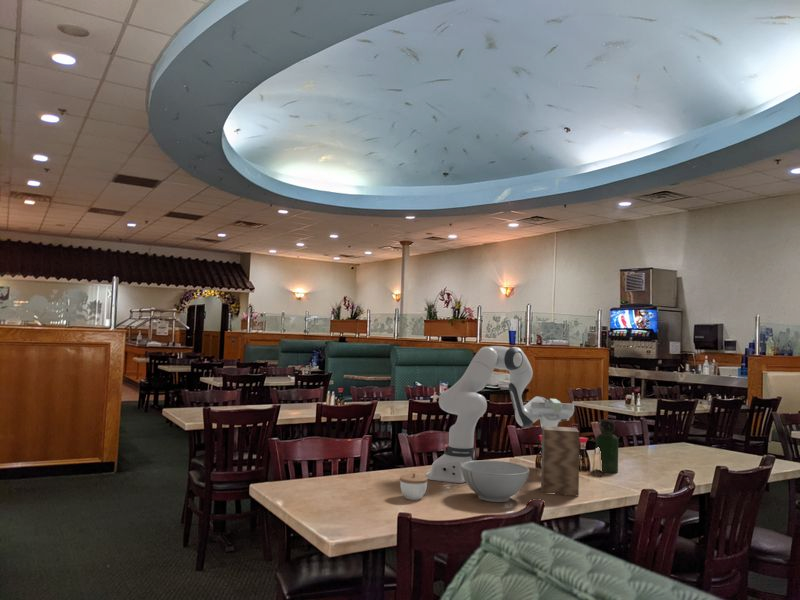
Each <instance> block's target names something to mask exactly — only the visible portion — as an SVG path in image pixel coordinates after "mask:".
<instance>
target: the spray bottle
mask: <svg viewBox="0 0 800 600" xmlns="http://www.w3.org/2000/svg"><path fill="white" fill-rule="evenodd" d="M615 426H616V425H615V421H614V419H608V418H607V419H606V418H602V419H601V420H600V423H599V429H600V432H601V433H599V434H598V435H596V438H595V449H596V448H597V447H599V448H600V451H601V460H602V471H603V472H602V473H605V472H607V473H608V474H609V473H610V474H613V473H614V474H615V473H618V472H619V438H618V436H616V435H615V434H613V433H615V429H616V428H615ZM607 473H606V474H607Z"/></svg>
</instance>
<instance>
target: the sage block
mask: <svg viewBox="0 0 800 600" xmlns="http://www.w3.org/2000/svg"><path fill="white" fill-rule="evenodd" d="M549 400H550V408H551V409H552V410H553V412H561V403H562V402H561V401H560V400H558V399H557V398H549ZM559 401H560V402H561V403H560V402H559Z"/></svg>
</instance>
